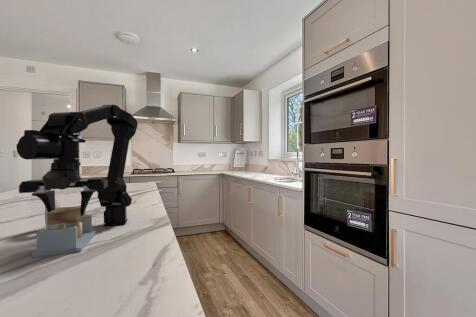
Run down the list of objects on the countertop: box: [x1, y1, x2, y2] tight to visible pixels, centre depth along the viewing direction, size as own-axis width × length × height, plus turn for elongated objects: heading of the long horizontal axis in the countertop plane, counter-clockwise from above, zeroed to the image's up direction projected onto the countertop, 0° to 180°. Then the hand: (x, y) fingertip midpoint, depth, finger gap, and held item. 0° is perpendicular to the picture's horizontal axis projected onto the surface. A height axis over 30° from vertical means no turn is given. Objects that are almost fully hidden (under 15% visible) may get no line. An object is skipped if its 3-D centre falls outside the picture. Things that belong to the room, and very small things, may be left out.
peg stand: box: [31, 214, 97, 258], centre depth 63 cm, size 10×14×6 cm
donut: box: [44, 199, 62, 230], centre depth 75 cm, size 10×4×10 cm, turn 46°
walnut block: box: [47, 205, 86, 225], centre depth 63 cm, size 6×6×3 cm
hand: (67, 216), depth 63 cm, fingers closed on walnut block, 6 cm apart
